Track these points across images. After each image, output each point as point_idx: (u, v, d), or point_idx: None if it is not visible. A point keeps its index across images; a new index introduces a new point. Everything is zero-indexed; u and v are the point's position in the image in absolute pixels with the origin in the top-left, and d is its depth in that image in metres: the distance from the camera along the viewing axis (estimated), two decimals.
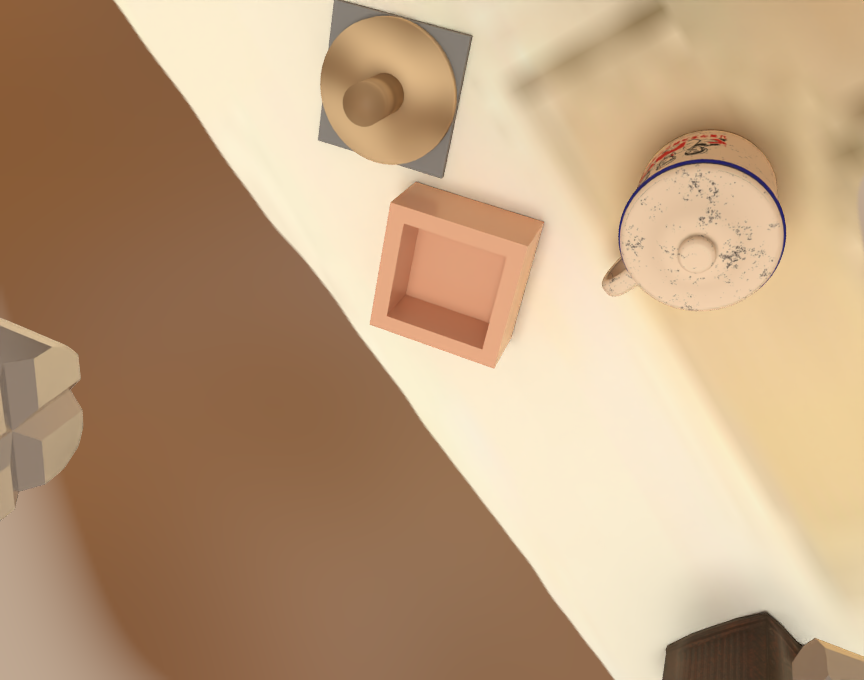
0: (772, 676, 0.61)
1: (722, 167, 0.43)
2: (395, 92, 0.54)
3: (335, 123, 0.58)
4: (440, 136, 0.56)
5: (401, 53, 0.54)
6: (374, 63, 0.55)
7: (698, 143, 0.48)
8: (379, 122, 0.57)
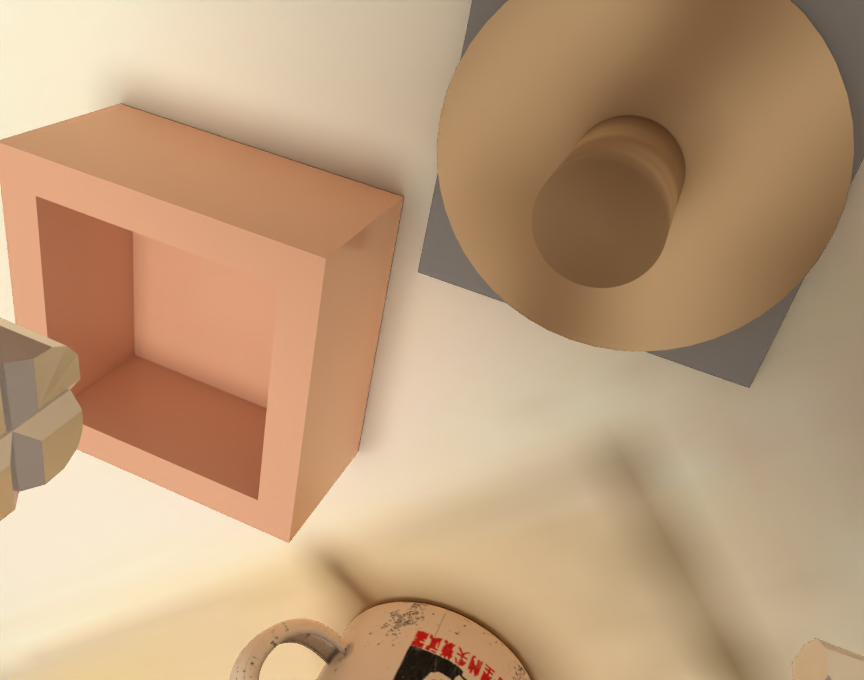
0: None
1: None
2: None
3: None
4: (514, 303, 0.23)
5: (733, 234, 0.20)
6: (715, 150, 0.19)
7: None
8: (547, 144, 0.20)
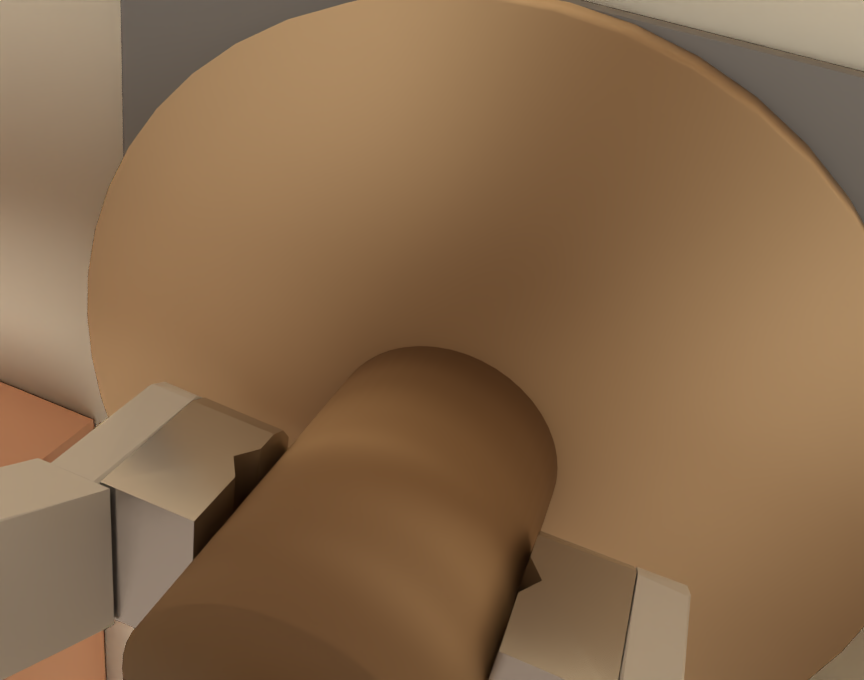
0: None
1: None
2: None
3: (229, 97, 0.08)
4: None
5: None
6: (616, 430, 0.09)
7: None
8: (286, 384, 0.10)
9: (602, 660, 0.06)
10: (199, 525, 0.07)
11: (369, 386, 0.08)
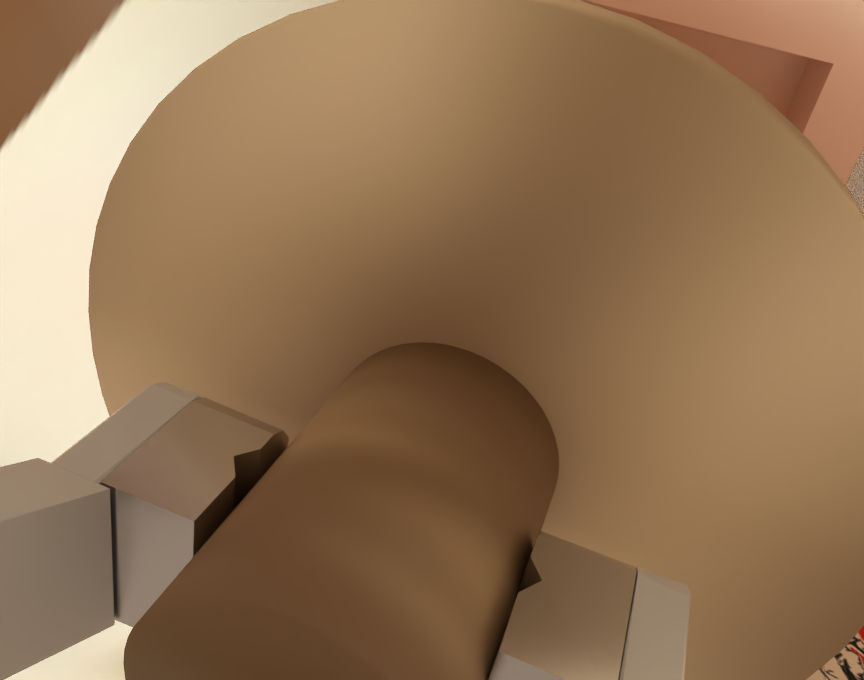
0: None
1: None
2: None
3: (231, 91, 0.08)
4: None
5: None
6: (617, 427, 0.09)
7: None
8: (287, 381, 0.10)
9: (602, 660, 0.06)
10: (199, 525, 0.07)
11: (371, 382, 0.08)
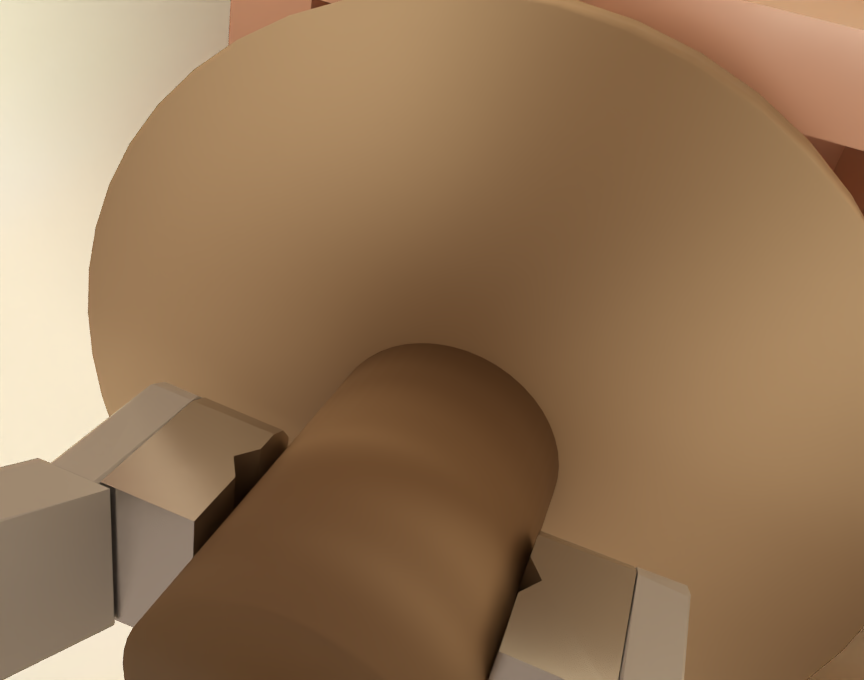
0: None
1: None
2: None
3: (231, 92, 0.08)
4: None
5: None
6: (617, 428, 0.09)
7: None
8: (287, 381, 0.10)
9: (602, 660, 0.06)
10: (199, 525, 0.07)
11: (370, 383, 0.08)
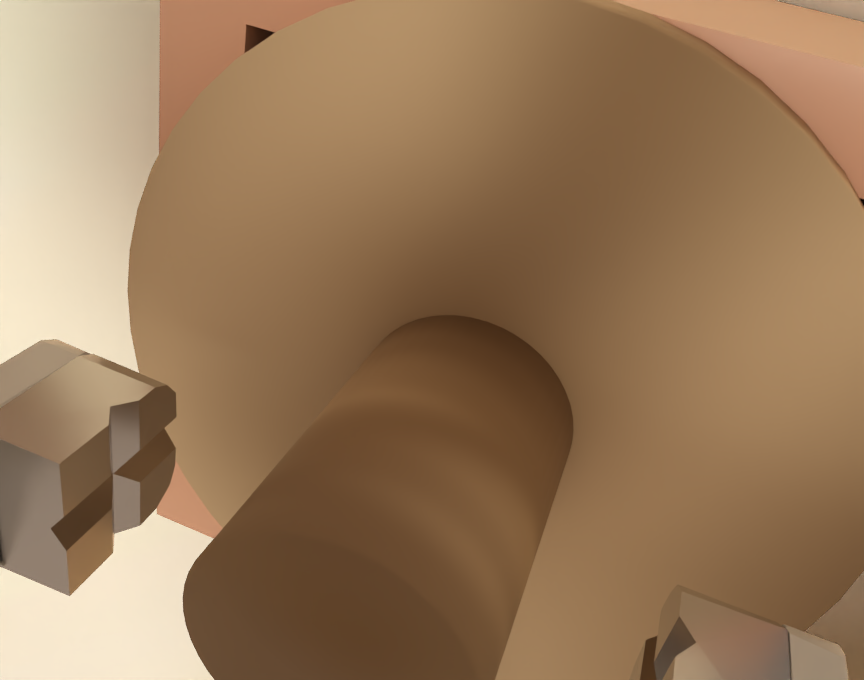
0: None
1: None
2: None
3: (270, 81, 0.09)
4: None
5: (670, 540, 0.10)
6: (628, 392, 0.09)
7: None
8: (317, 354, 0.10)
9: None
10: (67, 469, 0.07)
11: (400, 350, 0.09)
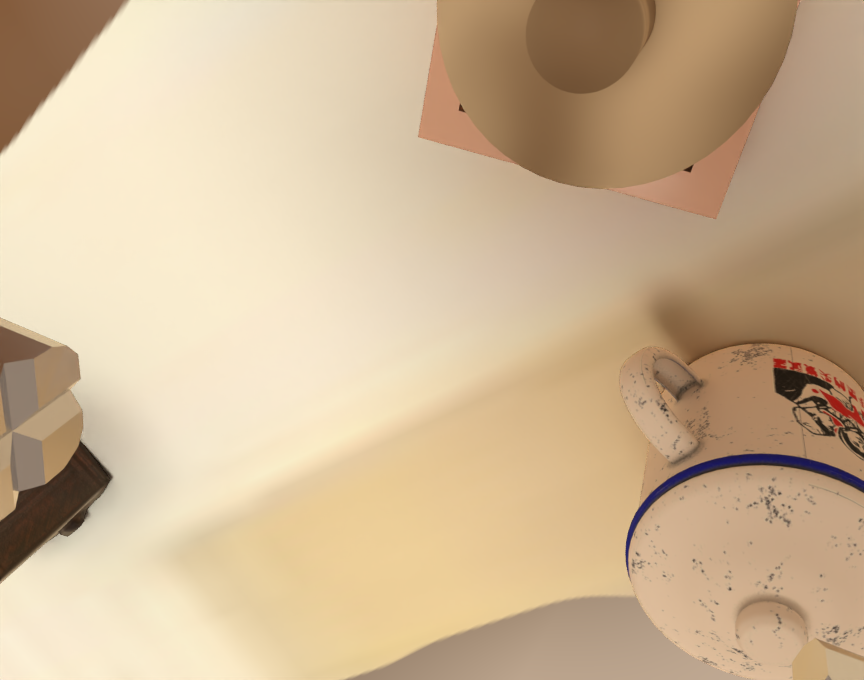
0: (32, 551, 0.43)
1: None
2: None
3: None
4: (508, 153, 0.25)
5: (699, 67, 0.22)
6: None
7: None
8: None
9: None
10: None
11: None
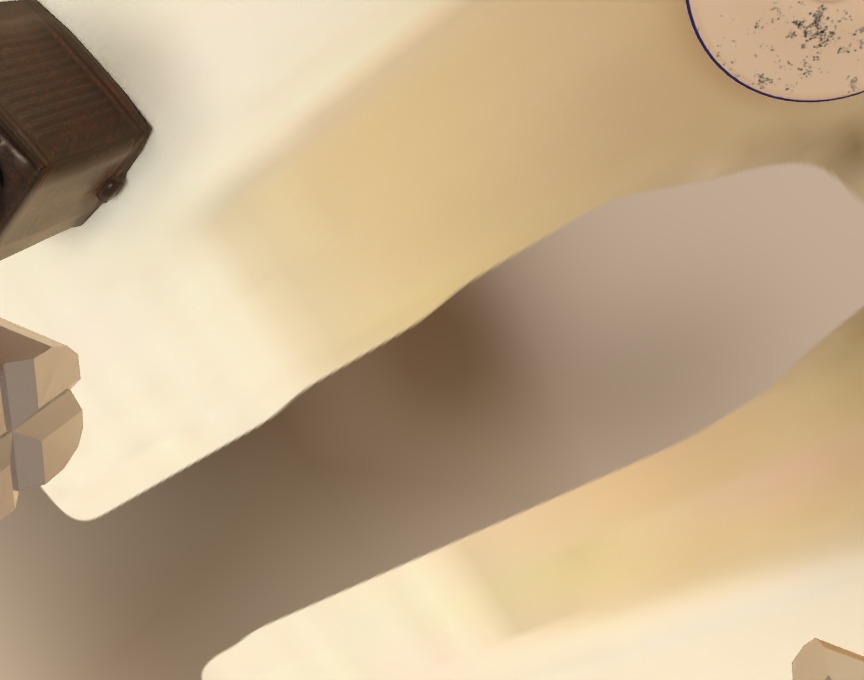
0: (76, 162, 0.43)
1: None
2: None
3: None
4: None
5: None
6: None
7: None
8: None
9: None
10: None
11: None
